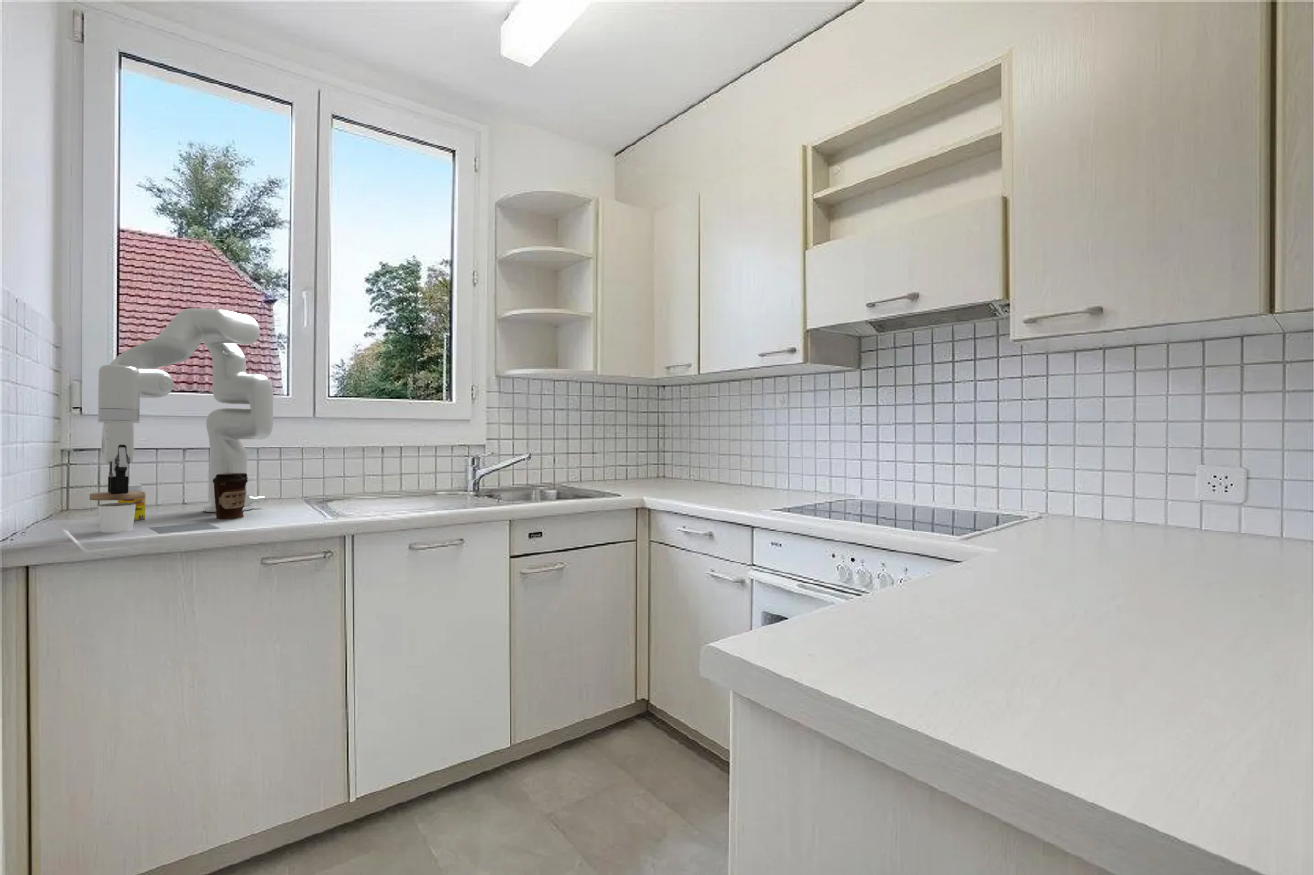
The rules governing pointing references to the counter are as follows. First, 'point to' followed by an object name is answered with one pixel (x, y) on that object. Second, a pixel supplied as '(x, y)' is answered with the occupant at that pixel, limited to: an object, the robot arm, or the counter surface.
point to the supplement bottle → (139, 503)
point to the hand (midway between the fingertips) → (118, 492)
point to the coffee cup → (230, 495)
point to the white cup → (116, 517)
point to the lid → (117, 495)
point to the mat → (183, 528)
